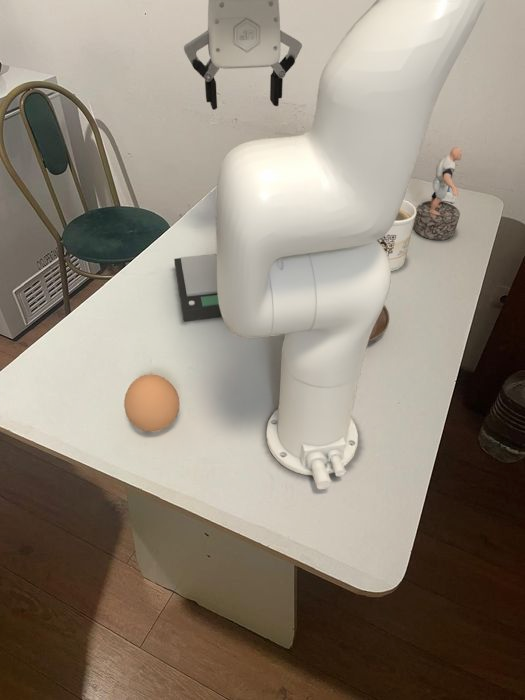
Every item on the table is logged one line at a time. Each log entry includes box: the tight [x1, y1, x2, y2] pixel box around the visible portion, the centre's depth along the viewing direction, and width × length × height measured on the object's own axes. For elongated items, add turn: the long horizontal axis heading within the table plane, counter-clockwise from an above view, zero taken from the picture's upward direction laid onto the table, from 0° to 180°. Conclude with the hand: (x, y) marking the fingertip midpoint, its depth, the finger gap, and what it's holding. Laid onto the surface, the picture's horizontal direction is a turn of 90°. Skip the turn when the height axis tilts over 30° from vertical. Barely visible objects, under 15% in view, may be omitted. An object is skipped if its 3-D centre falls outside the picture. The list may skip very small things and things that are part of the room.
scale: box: [173, 253, 222, 323], centre depth 94 cm, size 16×14×3 cm
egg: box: [123, 373, 180, 433], centre depth 70 cm, size 7×7×8 cm
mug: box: [377, 199, 417, 272], centre depth 100 cm, size 10×12×11 cm
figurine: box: [413, 146, 462, 241], centre depth 106 cm, size 15×9×18 cm, turn 166°
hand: (244, 104), depth 80 cm, fingers open, 9 cm apart
